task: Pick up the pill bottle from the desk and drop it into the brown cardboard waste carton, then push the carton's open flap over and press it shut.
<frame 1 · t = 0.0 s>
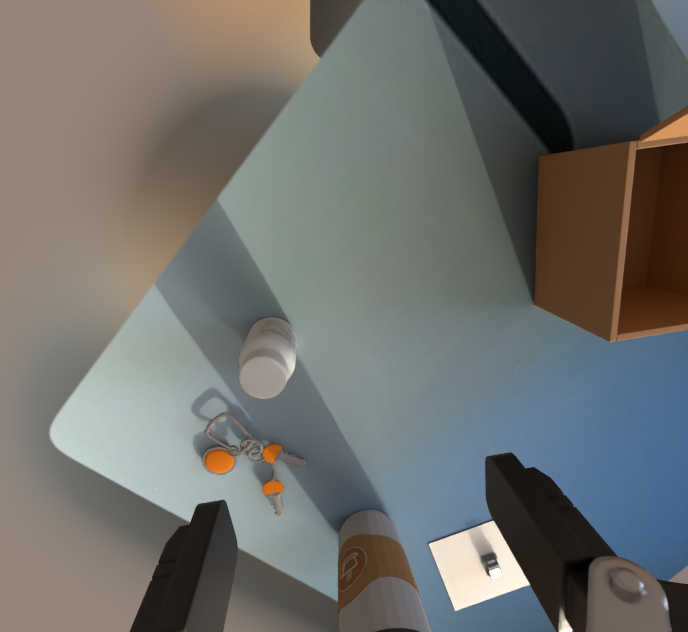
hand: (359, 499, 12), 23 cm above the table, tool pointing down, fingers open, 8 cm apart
pill bottle: (273, 338, 35), on the table
white square mat: (489, 560, 46), on the table
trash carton: (595, 226, 34), on the table
key chain: (256, 461, 38), on the table
coffee cup: (366, 529, 42), on the table
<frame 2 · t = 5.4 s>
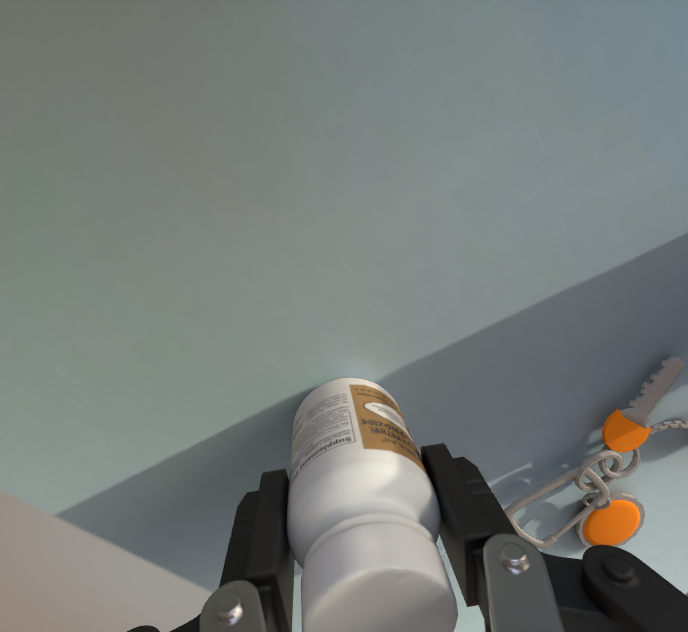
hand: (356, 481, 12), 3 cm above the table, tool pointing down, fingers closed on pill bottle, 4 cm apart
pill bottle: (347, 420, 16), on the table, touching gripper
key chain: (632, 453, 17), on the table
when the fingers open (12 cm above the table, at t = 12.8 s): pill bottle drops 8 cm, resting on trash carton.
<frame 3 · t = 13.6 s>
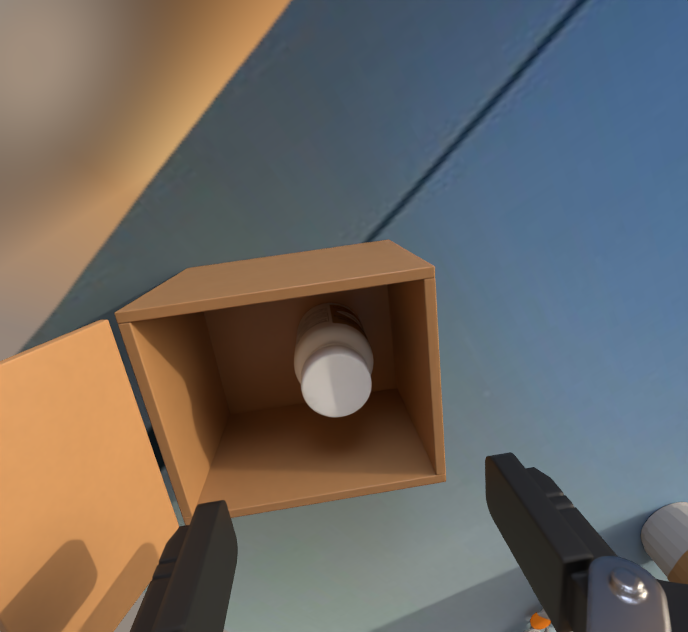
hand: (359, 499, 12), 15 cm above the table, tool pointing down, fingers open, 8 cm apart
pill bottle: (330, 331, 26), resting on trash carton
bin flap: (79, 497, 13), point 13 cm above the table, hinge at 110.0°
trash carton: (303, 333, 26), on the table
key chain: (546, 624, 38), on the table
coffee cup: (669, 525, 35), on the table
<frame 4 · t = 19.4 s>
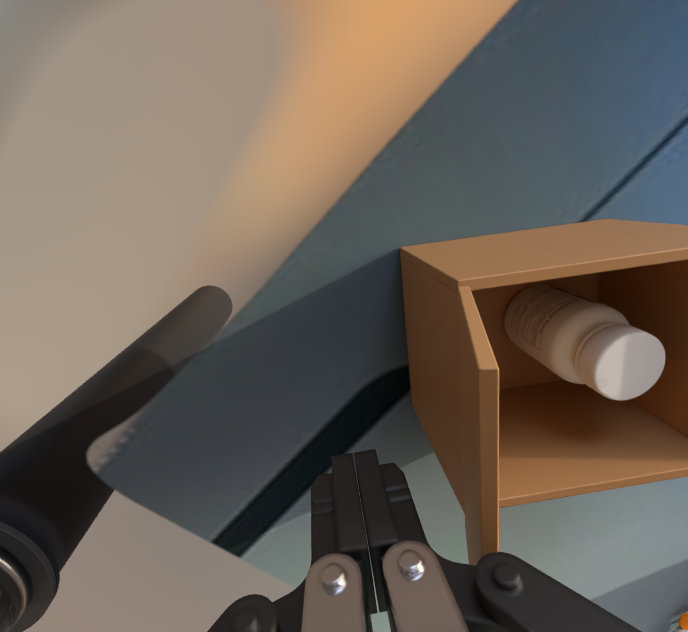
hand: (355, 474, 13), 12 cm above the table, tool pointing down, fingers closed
pill bottle: (533, 315, 25), resting on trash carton
bin flap: (475, 477, 12), point 13 cm above the table, hinge at 107.0°, touching gripper
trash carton: (503, 317, 25), on the table
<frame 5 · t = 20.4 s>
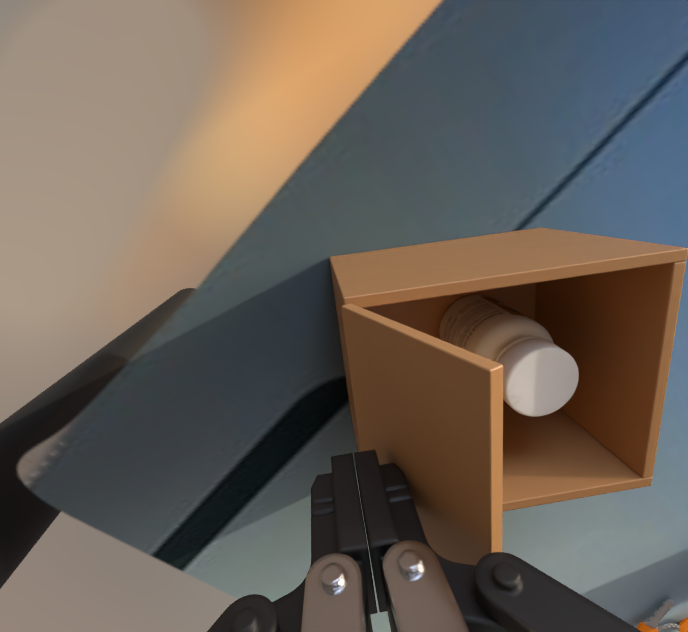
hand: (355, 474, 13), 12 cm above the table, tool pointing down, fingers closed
pill bottle: (470, 325, 24), resting on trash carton
bin flap: (414, 490, 12), point 13 cm above the table, hinge at 67.2°, touching gripper
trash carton: (440, 327, 25), on the table
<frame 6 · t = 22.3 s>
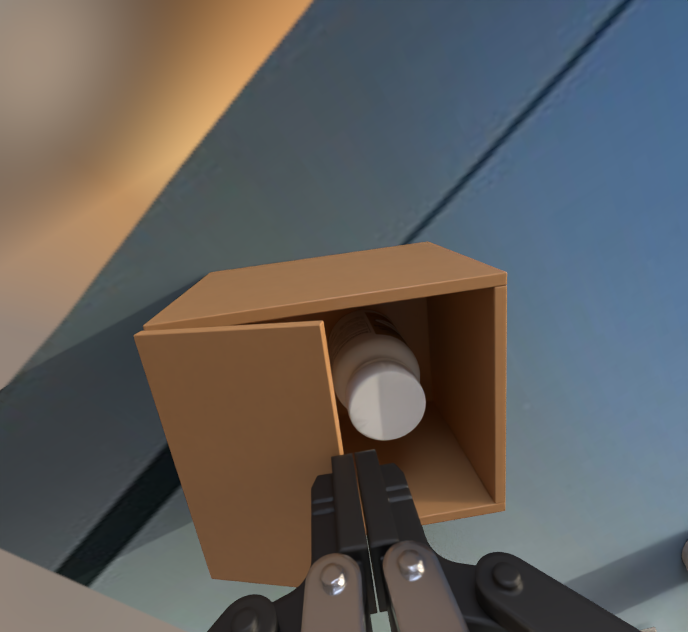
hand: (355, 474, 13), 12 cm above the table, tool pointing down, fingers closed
pill bottle: (362, 340, 24), resting on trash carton
bin flap: (258, 470, 14), point 11 cm above the table, hinge at 15.9°, touching gripper
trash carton: (333, 342, 24), on the table
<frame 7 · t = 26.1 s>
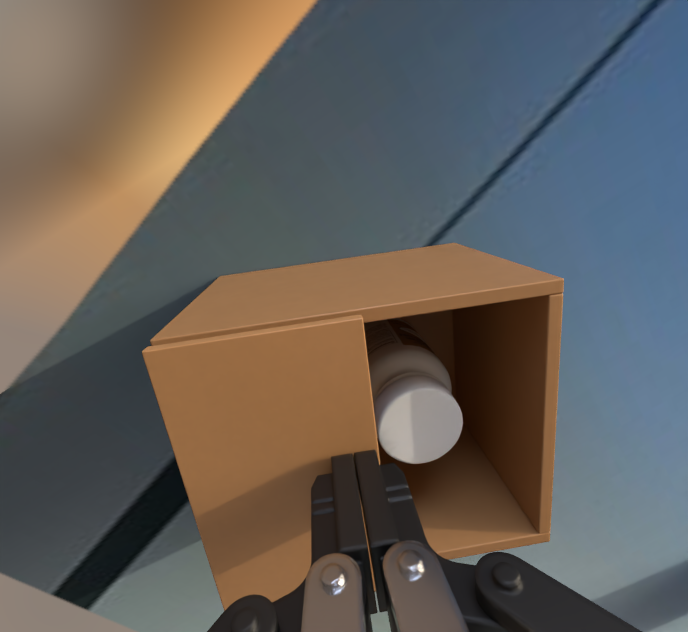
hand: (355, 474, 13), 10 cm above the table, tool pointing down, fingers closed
pill bottle: (382, 349, 22), resting on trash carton
bin flap: (287, 483, 13), point 10 cm above the table, hinge at -0.4°, touching gripper
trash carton: (351, 351, 22), on the table
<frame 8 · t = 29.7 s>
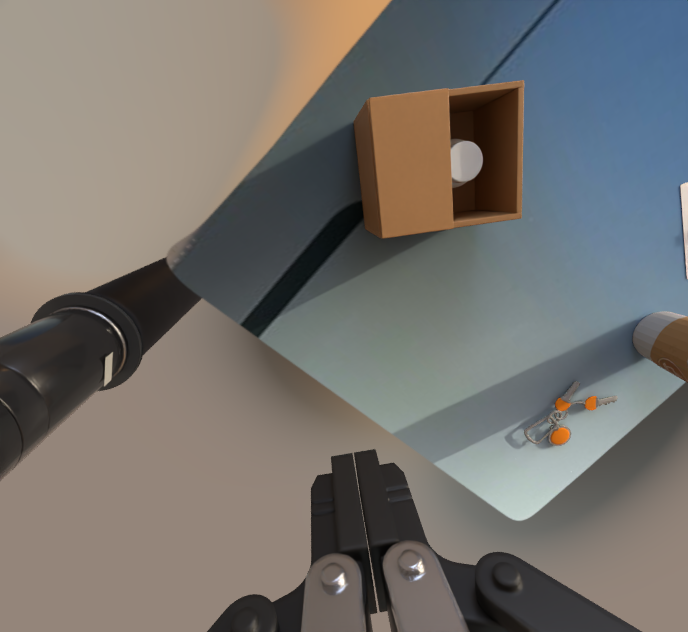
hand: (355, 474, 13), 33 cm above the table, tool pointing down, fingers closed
pill bottle: (436, 167, 41), resting on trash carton
bin flap: (413, 167, 32), point 10 cm above the table, hinge at -0.4°
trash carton: (418, 169, 41), on the table
key chain: (566, 412, 53), on the table
coffee cup: (652, 332, 50), on the table
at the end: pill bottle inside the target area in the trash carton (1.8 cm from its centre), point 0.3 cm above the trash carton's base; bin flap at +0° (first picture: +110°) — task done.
